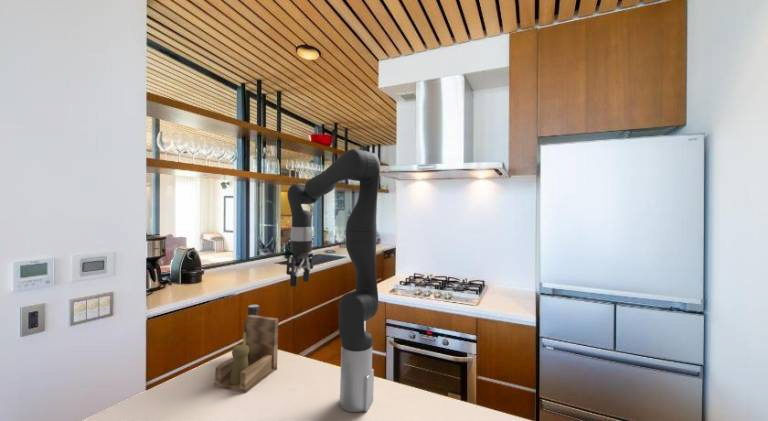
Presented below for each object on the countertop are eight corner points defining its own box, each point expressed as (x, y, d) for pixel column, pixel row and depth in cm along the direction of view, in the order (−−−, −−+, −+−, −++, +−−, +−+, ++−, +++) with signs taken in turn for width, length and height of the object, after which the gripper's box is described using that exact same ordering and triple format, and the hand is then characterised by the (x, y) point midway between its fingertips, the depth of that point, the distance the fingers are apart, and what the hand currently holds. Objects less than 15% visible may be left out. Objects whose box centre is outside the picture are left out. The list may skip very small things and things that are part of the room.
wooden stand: (277, 368, 114) (278, 318, 114) (245, 392, 98) (247, 334, 99) (248, 363, 117) (250, 314, 117) (214, 386, 102) (215, 329, 102)
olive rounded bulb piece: (241, 373, 108) (242, 340, 108) (253, 378, 105) (254, 344, 105) (225, 381, 103) (226, 347, 103) (237, 386, 100) (238, 351, 100)
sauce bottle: (256, 362, 118) (257, 308, 118) (239, 361, 118) (241, 308, 119) (263, 354, 125) (264, 303, 125) (247, 354, 125) (248, 303, 125)
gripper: (299, 241, 108) (298, 289, 108) (319, 238, 122) (318, 280, 122) (280, 240, 110) (279, 287, 110) (302, 237, 124) (301, 279, 124)
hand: (300, 283), depth 116 cm, fingers open, 8 cm apart
